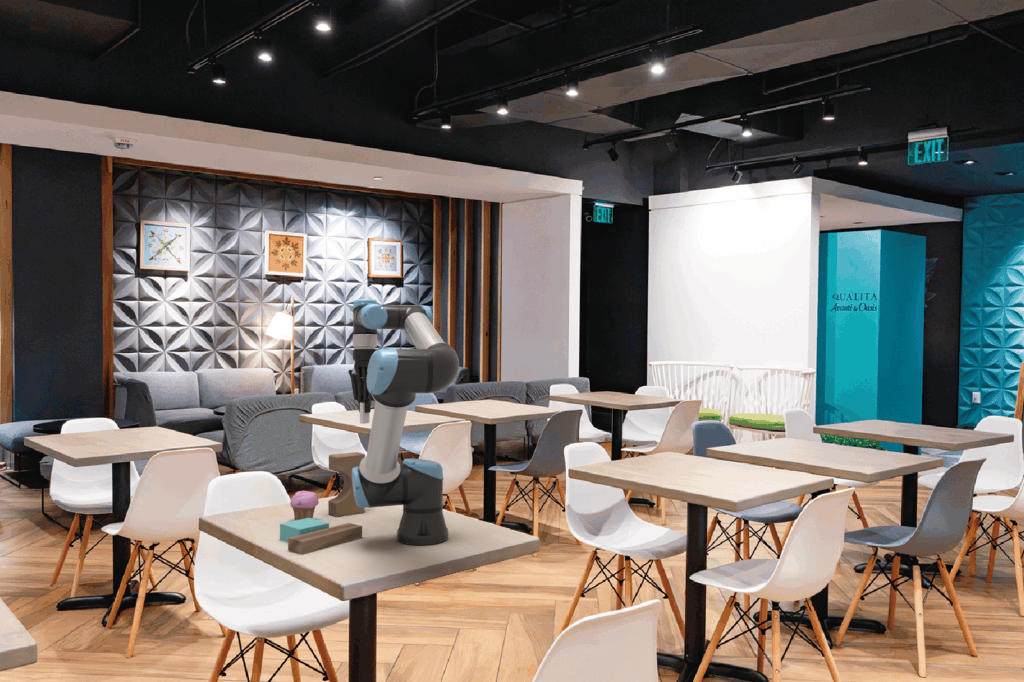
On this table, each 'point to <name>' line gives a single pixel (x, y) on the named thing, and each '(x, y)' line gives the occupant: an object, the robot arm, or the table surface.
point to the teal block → (300, 527)
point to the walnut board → (324, 538)
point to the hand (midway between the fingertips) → (364, 423)
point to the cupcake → (304, 504)
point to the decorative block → (345, 484)
